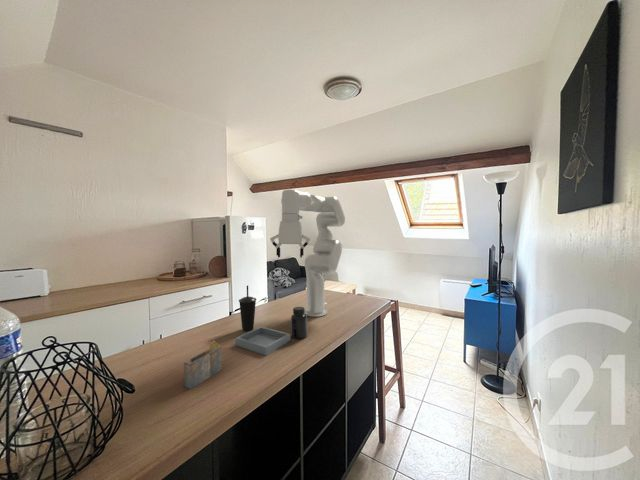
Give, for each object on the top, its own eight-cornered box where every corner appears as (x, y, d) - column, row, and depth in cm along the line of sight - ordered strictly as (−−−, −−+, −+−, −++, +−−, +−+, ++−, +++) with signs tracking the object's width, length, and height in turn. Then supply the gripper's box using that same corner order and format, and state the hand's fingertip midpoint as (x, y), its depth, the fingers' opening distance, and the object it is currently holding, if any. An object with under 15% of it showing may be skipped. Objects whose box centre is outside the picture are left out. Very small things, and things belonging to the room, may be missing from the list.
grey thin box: (214, 368, 85) (214, 339, 85) (221, 370, 84) (221, 341, 83) (183, 387, 75) (182, 354, 74) (190, 390, 74) (190, 356, 73)
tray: (261, 333, 113) (261, 326, 113) (290, 341, 105) (290, 333, 105) (235, 345, 101) (235, 337, 101) (266, 355, 93) (266, 347, 93)
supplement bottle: (300, 331, 115) (300, 304, 114) (310, 336, 110) (310, 308, 109) (287, 336, 110) (287, 308, 109) (298, 341, 105) (297, 311, 105)
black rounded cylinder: (252, 333, 113) (251, 287, 112) (235, 332, 114) (235, 287, 113) (259, 327, 120) (259, 284, 119) (244, 325, 122) (243, 283, 121)
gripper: (310, 219, 118) (309, 256, 118) (271, 218, 117) (271, 256, 118) (310, 218, 111) (309, 258, 111) (269, 217, 110) (268, 257, 110)
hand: (290, 257), depth 114 cm, fingers open, 9 cm apart
